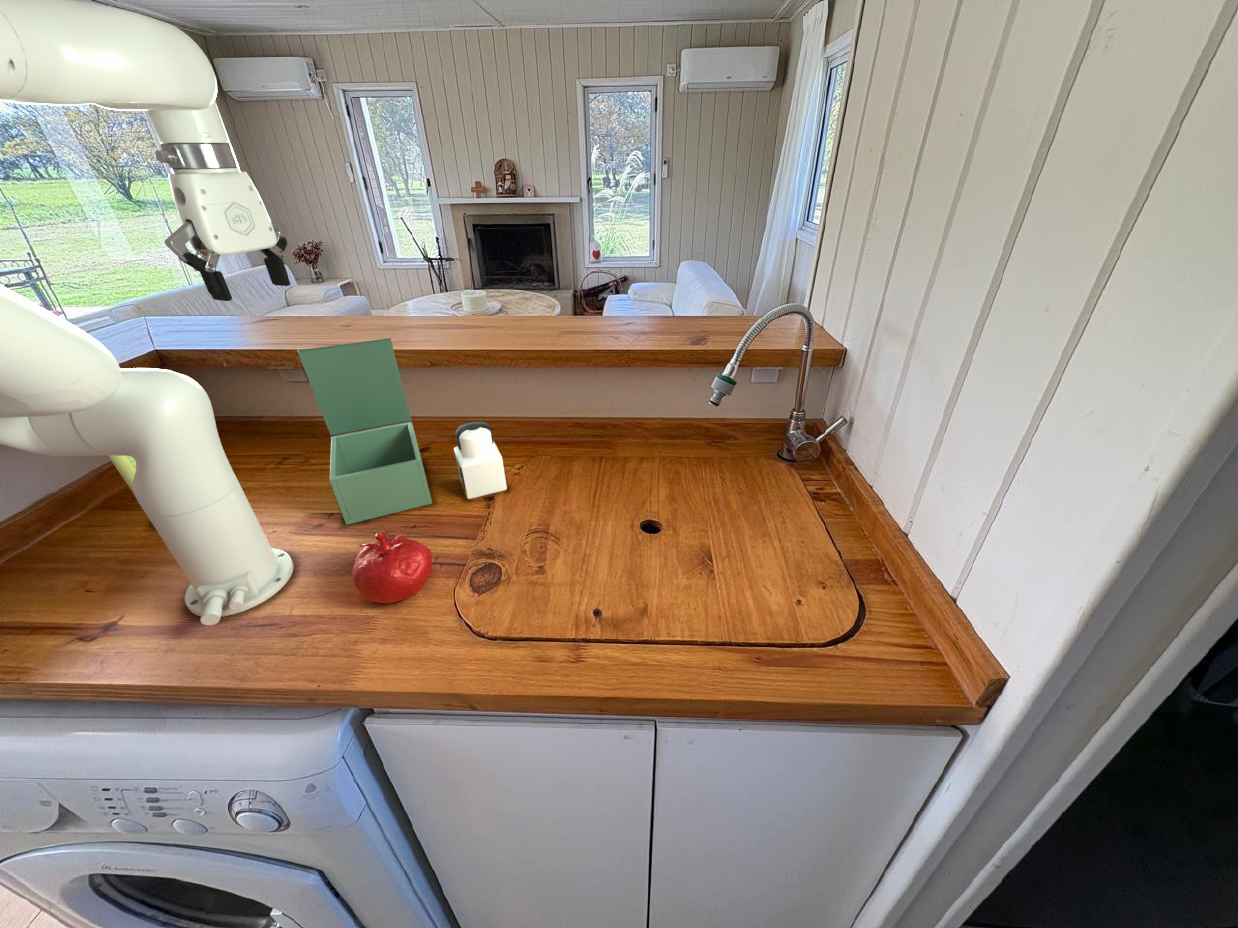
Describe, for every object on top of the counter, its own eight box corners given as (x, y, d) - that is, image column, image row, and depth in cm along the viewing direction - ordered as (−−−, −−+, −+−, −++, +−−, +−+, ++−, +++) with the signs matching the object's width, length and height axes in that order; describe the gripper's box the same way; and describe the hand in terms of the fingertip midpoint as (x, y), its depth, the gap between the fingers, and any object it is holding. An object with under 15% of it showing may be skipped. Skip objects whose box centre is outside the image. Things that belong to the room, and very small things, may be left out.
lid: (391, 340, 82) (390, 338, 83) (297, 352, 77) (297, 350, 78) (411, 420, 93) (410, 418, 93) (330, 435, 88) (330, 433, 88)
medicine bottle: (460, 480, 92) (447, 422, 86) (498, 471, 95) (489, 414, 88) (467, 500, 87) (454, 440, 80) (507, 490, 89) (498, 431, 83)
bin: (432, 503, 86) (421, 460, 81) (346, 525, 81) (329, 480, 76) (421, 461, 98) (411, 421, 93) (345, 477, 93) (331, 436, 88)
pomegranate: (424, 612, 65) (408, 560, 60) (348, 614, 65) (325, 561, 60) (445, 560, 74) (432, 510, 69) (378, 561, 74) (360, 511, 69)
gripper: (151, 161, 58) (215, 309, 68) (280, 159, 72) (319, 282, 81) (110, 161, 61) (177, 304, 70) (243, 159, 74) (285, 278, 83)
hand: (254, 292), depth 75 cm, fingers open, 9 cm apart
